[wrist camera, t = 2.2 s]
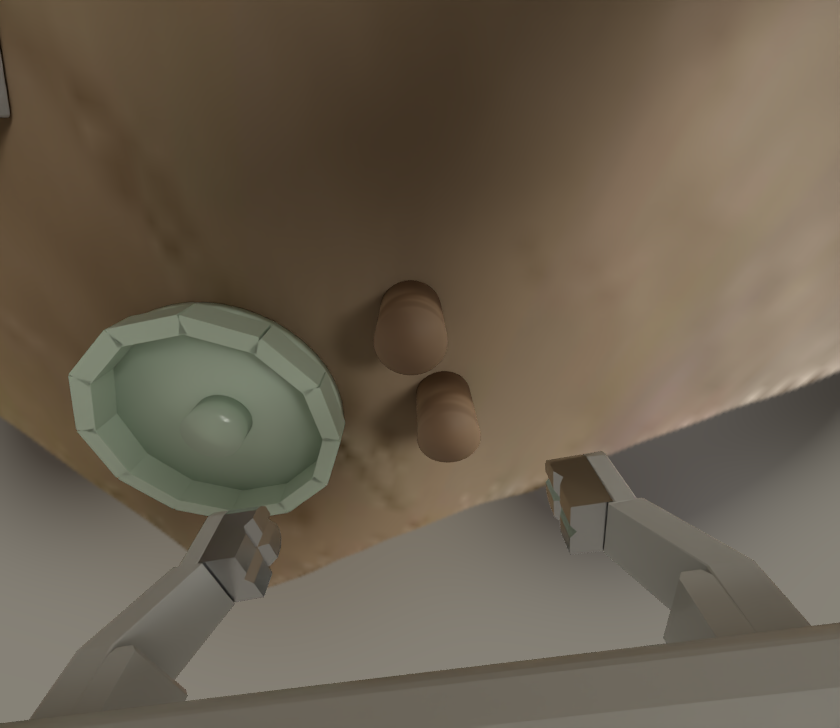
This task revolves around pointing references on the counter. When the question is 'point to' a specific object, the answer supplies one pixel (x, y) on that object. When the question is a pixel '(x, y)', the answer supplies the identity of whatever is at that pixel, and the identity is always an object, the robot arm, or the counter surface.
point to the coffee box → (3, 94)
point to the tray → (209, 409)
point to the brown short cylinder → (446, 418)
